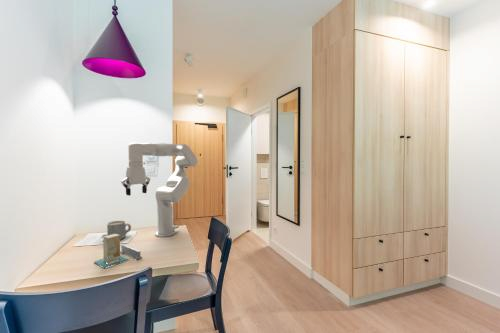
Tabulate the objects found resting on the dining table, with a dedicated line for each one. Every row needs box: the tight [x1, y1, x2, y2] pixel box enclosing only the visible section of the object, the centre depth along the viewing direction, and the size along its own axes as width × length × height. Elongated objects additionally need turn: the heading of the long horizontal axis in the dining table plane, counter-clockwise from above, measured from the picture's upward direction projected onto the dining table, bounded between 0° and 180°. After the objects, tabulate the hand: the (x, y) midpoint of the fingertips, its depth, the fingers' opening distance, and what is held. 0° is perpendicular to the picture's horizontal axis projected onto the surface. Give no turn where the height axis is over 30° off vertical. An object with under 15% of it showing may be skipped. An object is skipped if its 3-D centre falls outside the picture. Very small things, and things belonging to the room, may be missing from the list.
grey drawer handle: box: [120, 244, 143, 261], centre depth 127 cm, size 3×16×4 cm, turn 56°
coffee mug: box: [106, 220, 132, 240], centre depth 154 cm, size 13×10×10 cm
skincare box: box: [102, 234, 121, 263], centre depth 120 cm, size 6×4×12 cm
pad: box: [93, 255, 129, 269], centre depth 120 cm, size 11×11×1 cm
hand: (136, 194), depth 140 cm, fingers open, 9 cm apart
